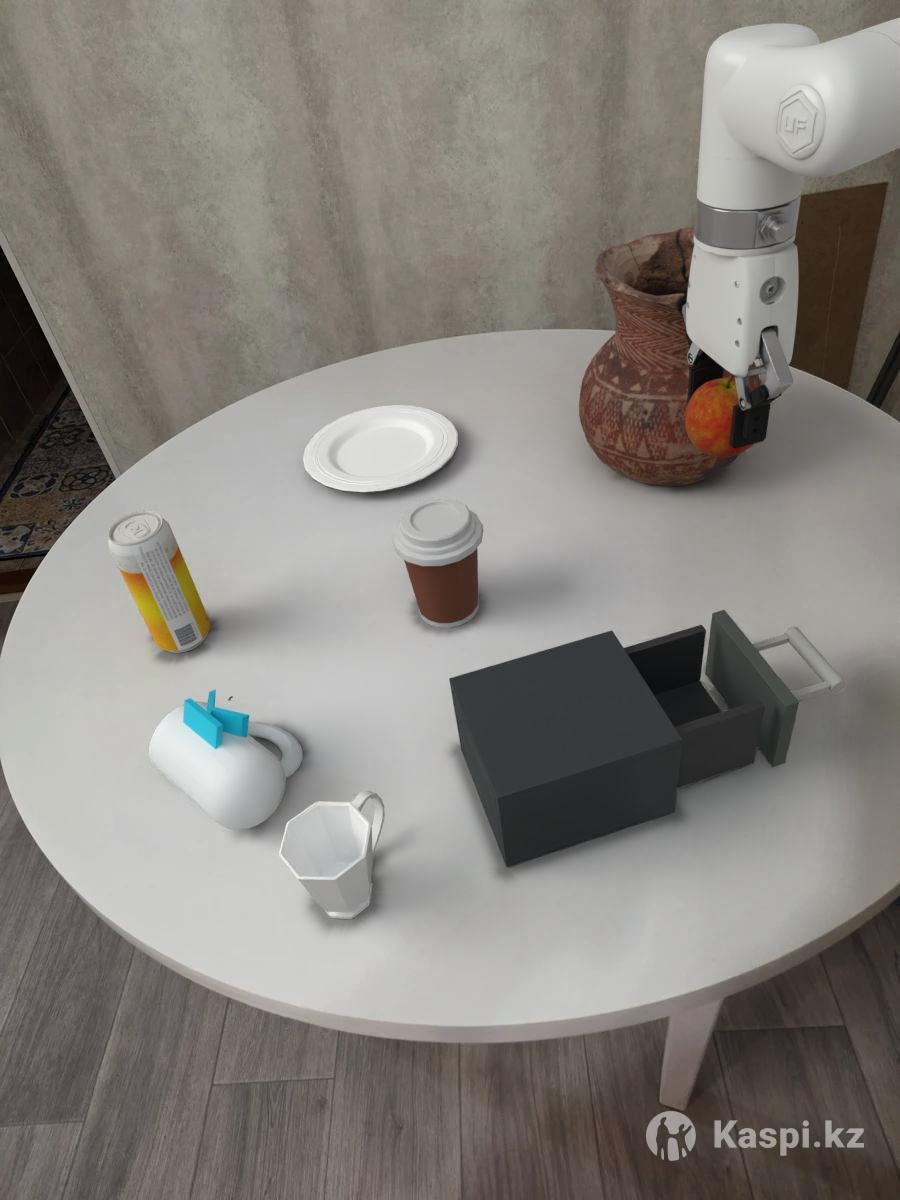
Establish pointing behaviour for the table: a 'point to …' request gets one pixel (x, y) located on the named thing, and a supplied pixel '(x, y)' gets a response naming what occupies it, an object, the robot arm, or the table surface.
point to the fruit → (713, 417)
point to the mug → (224, 761)
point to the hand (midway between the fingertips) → (724, 421)
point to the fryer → (565, 746)
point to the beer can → (159, 580)
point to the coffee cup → (441, 558)
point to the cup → (335, 853)
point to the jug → (646, 366)
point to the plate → (380, 449)
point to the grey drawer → (727, 694)
